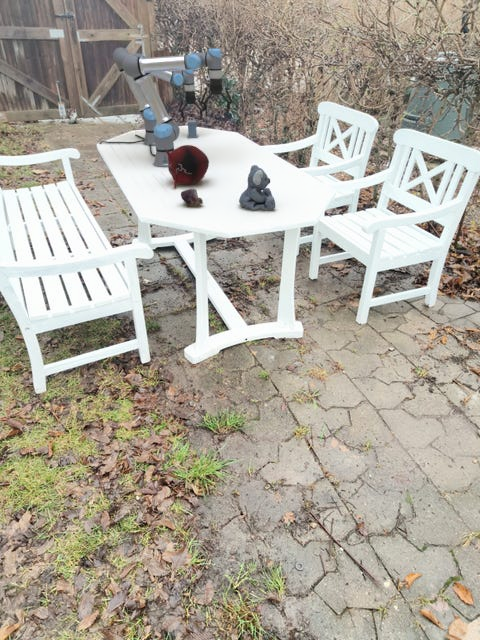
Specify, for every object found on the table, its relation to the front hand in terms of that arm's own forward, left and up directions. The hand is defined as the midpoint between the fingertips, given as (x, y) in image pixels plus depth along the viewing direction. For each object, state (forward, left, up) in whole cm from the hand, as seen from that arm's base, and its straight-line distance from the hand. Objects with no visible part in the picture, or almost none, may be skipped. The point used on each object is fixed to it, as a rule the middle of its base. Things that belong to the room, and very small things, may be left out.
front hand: (217, 115), depth 287 cm
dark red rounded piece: (+21, -46, -27) cm, 57 cm away
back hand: (-62, +34, -16) cm, 73 cm away
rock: (+50, -71, -27) cm, 91 cm away
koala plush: (+77, -50, -27) cm, 95 cm away
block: (-63, +34, -27) cm, 76 cm away
